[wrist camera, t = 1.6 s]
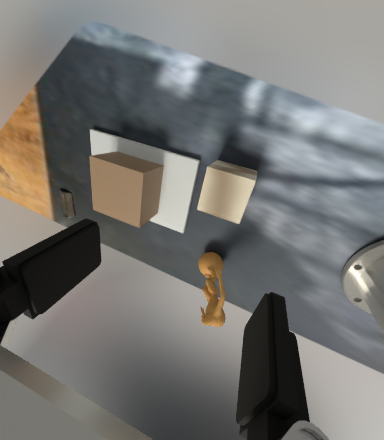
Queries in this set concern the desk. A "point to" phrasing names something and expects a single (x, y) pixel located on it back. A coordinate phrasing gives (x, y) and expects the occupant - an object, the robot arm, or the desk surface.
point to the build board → (171, 179)
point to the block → (67, 203)
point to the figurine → (212, 289)
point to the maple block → (226, 190)
